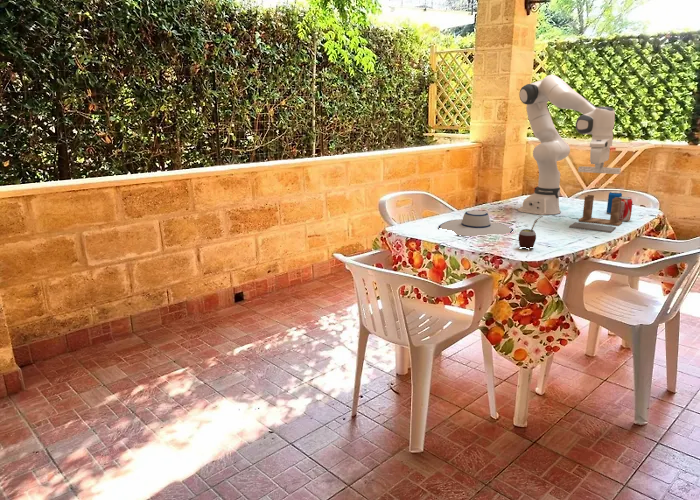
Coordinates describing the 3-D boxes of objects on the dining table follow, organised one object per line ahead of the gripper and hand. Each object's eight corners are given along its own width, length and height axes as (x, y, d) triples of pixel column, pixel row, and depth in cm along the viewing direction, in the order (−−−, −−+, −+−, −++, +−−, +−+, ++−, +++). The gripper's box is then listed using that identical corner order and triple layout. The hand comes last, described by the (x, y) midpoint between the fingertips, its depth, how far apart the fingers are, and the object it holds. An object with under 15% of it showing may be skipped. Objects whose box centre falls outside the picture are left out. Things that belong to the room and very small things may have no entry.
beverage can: (606, 214, 281) (609, 192, 278) (606, 212, 287) (608, 190, 284) (620, 215, 279) (622, 193, 276) (619, 212, 285) (621, 191, 281)
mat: (569, 227, 255) (569, 225, 255) (575, 223, 263) (575, 222, 263) (610, 232, 244) (611, 231, 244) (615, 228, 251) (616, 226, 251)
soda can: (632, 222, 263) (635, 199, 260) (617, 221, 264) (619, 198, 261) (627, 219, 270) (630, 196, 266) (613, 218, 271) (615, 196, 268)
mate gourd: (515, 246, 225) (517, 212, 220) (533, 246, 225) (535, 212, 221) (521, 251, 217) (524, 216, 213) (540, 250, 218) (543, 216, 214)
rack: (578, 221, 267) (581, 196, 264) (582, 218, 273) (585, 194, 270) (618, 226, 256) (621, 200, 252) (622, 223, 262) (625, 197, 258)
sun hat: (423, 229, 262) (423, 211, 260) (472, 219, 282) (473, 202, 279) (478, 243, 233) (479, 223, 231) (529, 231, 253) (530, 212, 251)
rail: (578, 171, 250) (578, 166, 250) (579, 171, 252) (580, 166, 252) (618, 174, 239) (619, 168, 239) (620, 173, 242) (621, 168, 241)
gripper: (600, 140, 252) (597, 169, 256) (588, 143, 236) (585, 174, 240) (614, 140, 248) (611, 169, 252) (603, 144, 233) (600, 174, 236)
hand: (598, 171), depth 246 cm, fingers closed on rail, 3 cm apart
